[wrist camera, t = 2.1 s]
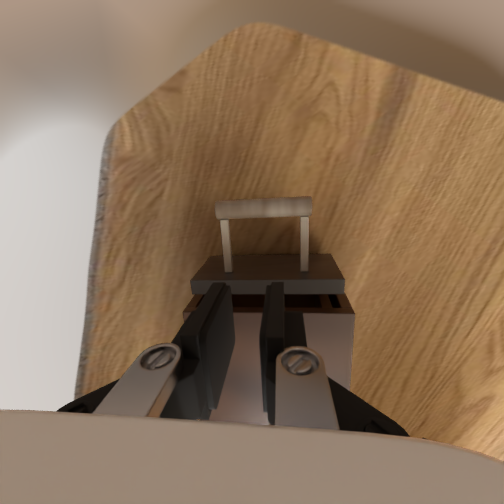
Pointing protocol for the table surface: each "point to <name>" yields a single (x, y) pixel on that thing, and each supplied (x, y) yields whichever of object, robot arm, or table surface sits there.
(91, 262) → the table surface
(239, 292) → the drawer
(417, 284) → the table surface
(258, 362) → the cabinet
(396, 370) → the table surface
